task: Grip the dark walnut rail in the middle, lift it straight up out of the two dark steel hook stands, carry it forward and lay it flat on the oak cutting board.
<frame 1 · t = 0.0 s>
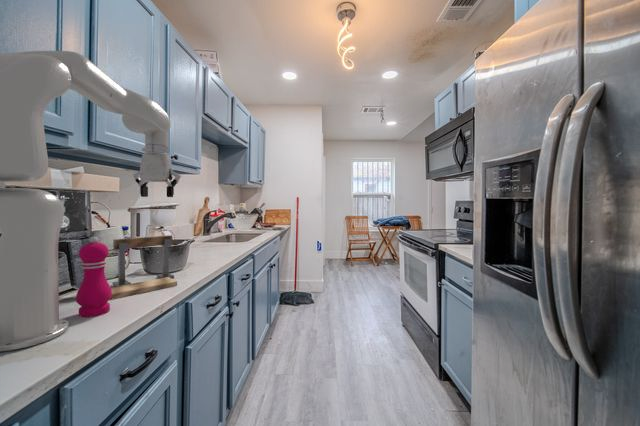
hand: (157, 196, 101), 31 cm above the worktop, tool pointing down, fingers open, 9 cm apart
walnut rail: (144, 246, 98), point 13 cm above the worktop, touching hook stands
pepper mill: (94, 313, 70), on the worktop
oak board: (137, 290, 89), on the worktop
hook stands: (144, 281, 99), on the worktop
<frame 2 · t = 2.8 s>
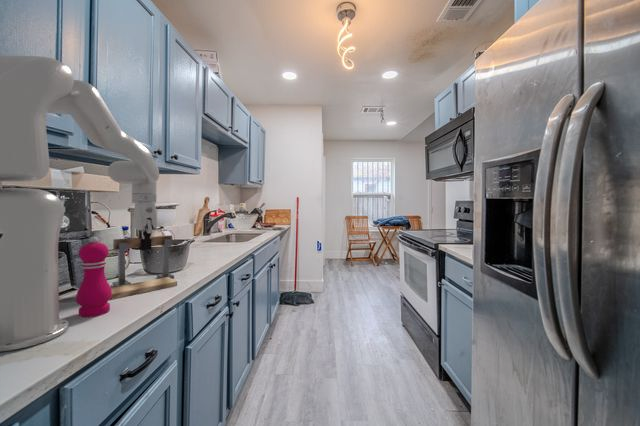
hand: (144, 248, 98), 12 cm above the worktop, tool pointing down, fingers closed on walnut rail, 2 cm apart
walnut rail: (144, 246, 98), point 13 cm above the worktop, touching gripper, hook stands
everything else where it was.
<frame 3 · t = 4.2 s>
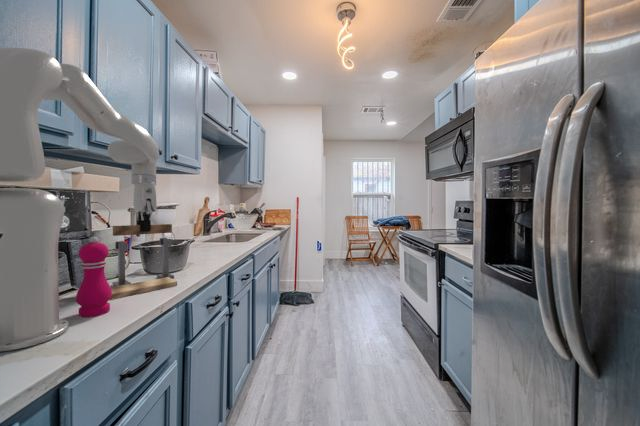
hand: (143, 230, 98), 19 cm above the worktop, tool pointing down, fingers closed on walnut rail, 2 cm apart
walnut rail: (144, 233, 98), point 18 cm above the worktop, touching gripper
everything else where it was.
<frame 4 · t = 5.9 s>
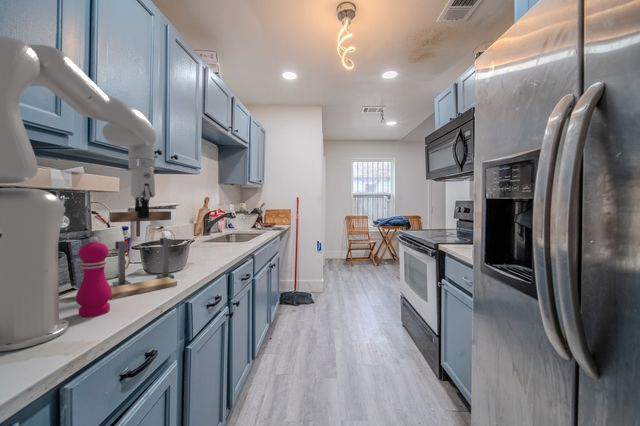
hand: (142, 217, 95), 24 cm above the worktop, tool pointing down, fingers closed on walnut rail
walnut rail: (142, 220, 95), point 23 cm above the worktop, touching gripper
everything else where it was.
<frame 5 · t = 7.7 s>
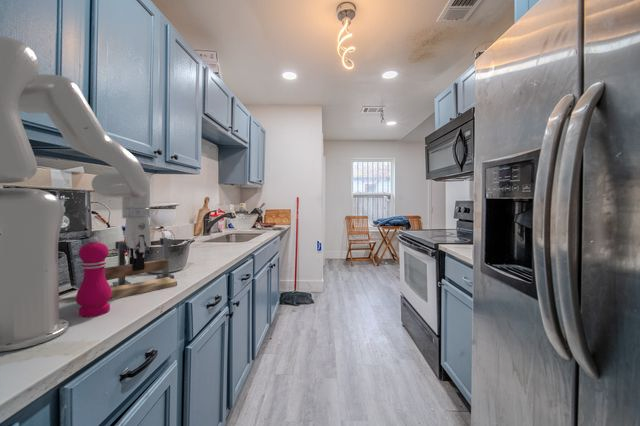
hand: (136, 268, 89), 7 cm above the worktop, tool pointing down, fingers closed on walnut rail, 2 cm apart
walnut rail: (137, 273, 89), point 6 cm above the worktop, touching gripper
everything else where it was.
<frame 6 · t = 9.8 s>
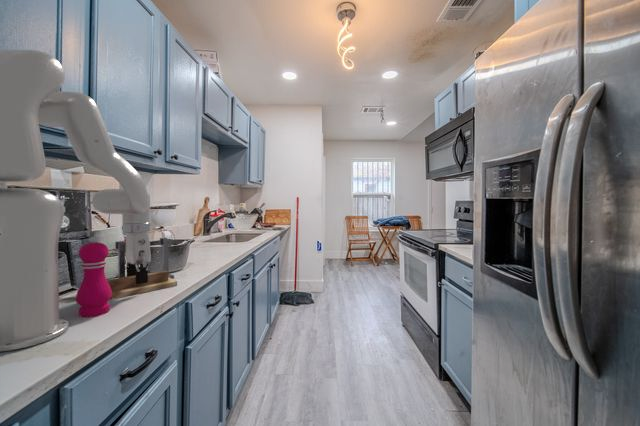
hand: (137, 280, 89), 3 cm above the worktop, tool pointing down, fingers open, 9 cm apart
walnut rail: (137, 285, 89), point 1 cm above the worktop, touching oak board
everything else where it was.
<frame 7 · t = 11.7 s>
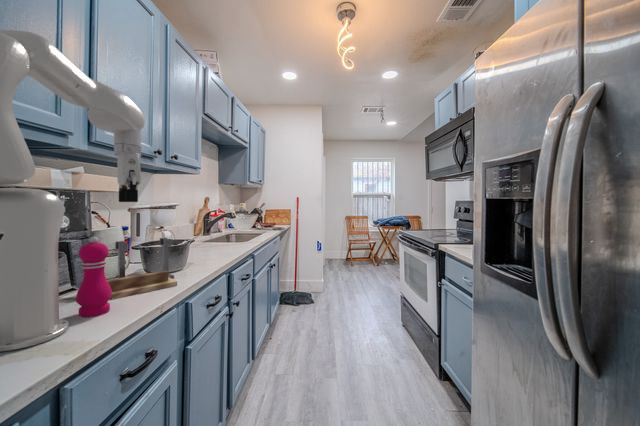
hand: (128, 201, 92), 29 cm above the worktop, tool pointing down, fingers open, 9 cm apart
nothing on the worktop moved.
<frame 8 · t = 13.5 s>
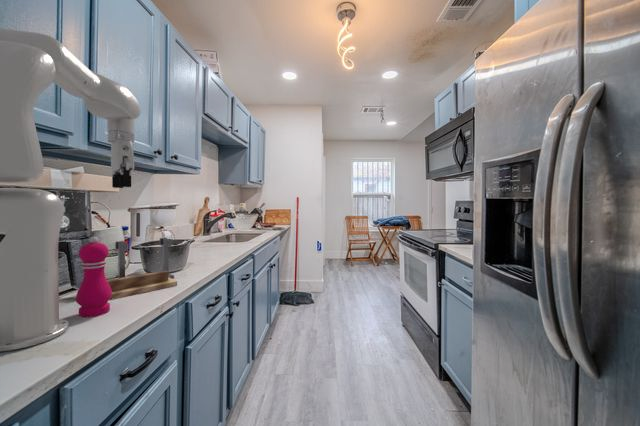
hand: (121, 187, 95), 34 cm above the worktop, tool pointing down, fingers open, 9 cm apart
nothing on the worktop moved.
at the end: walnut rail inside the target area on the oak board (0.3 cm from its centre), point 1.5 cm above the oak board's base; walnut rail tilted 0°; the gripper is holding nothing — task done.
